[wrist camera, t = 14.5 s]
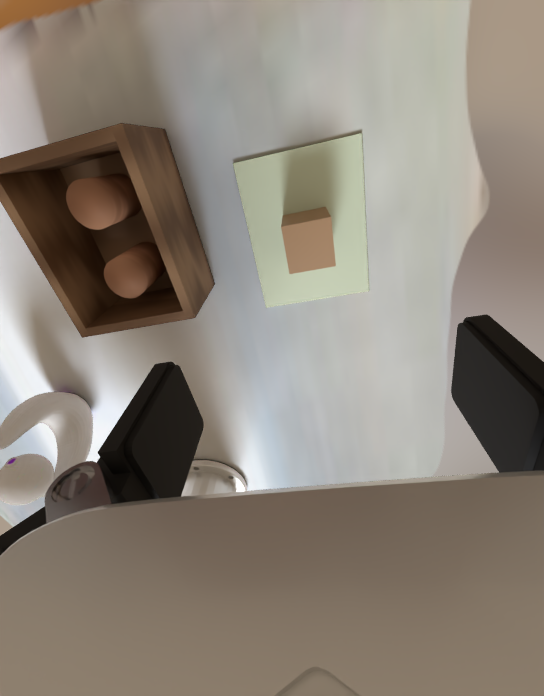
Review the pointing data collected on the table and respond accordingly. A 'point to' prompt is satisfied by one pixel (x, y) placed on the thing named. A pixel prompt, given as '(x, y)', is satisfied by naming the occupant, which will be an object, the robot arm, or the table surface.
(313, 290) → the lid
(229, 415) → the table surface
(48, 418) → the toy
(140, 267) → the box
